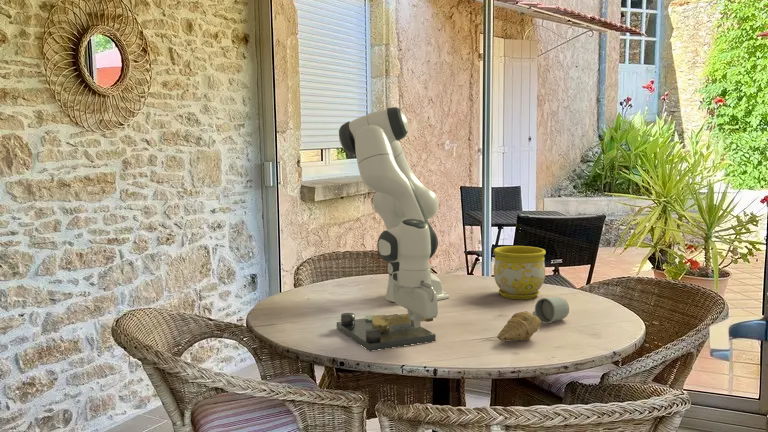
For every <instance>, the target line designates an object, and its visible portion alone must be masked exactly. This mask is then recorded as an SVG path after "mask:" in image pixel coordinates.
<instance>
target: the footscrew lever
mask: <svg viewBox="0 0 768 432" xmlns="http://www.w3.org/2000/svg"><path fill="white" fill-rule="evenodd" d="M387 315H388V314H387ZM387 315H386V314H375V316H373V317H372V328H377V329H380V330H381V332H387V331H389V330H390V326H392V325H400V324H407V323H410V318H409V315H408V313H403V314H401V313H400V314H398V315H394V314H392V315H393V316H387ZM433 321H434V318H430V319H426V318H424V317H422V319H421V321H420V323H421V322H426V323H429V322H433Z"/></svg>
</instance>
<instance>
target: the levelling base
mask: <svg viewBox="0 0 768 432" xmlns="http://www.w3.org/2000/svg"><path fill="white" fill-rule="evenodd" d="M375 315H376V314H375ZM375 315H374V314H369V315H365V316H364V318H358V319H356V314H355V313H353V312H343V313H341V314H340V321H336V329H337V330H338V331H340V332H341V333H343V334H344V335H345V336H346V337H348V338H349V339H351V340H352V341H354V343H357V344H358V345H359V344H360V345H359V346H361V345H362V346H363V347H362V346H361V347H362V348H364V347H365V348H366V349H365V348H364V349H365V350H367V351H368V350H369V351H370V352H373V351H372V350H377V351H379V350H378V349H383V350H386V349H385V348H390V349H393V348H392V347H396V348H399V347H398V346H403V347H405V346H404V345H409V346H412V345H411V344H416V345H418V344H417V343H422V344H426V343H425V342H429V343H433V342H432V341H435V342H436V341H437V340H436V338H437V337H436V334H435V333H434V332H432V331H430V330H428V329H426V328H424V327H422V326H421V325H420V327H419V328H415V327H413V326H411V325H410V323H407V324H400V325H392V326H390V330H389V331H387V332H381V330H380V329H377V328H372V317H373V316H375ZM393 315H399V314H398V313H397V314H387V316H393ZM369 351H368V352H369Z"/></svg>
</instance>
